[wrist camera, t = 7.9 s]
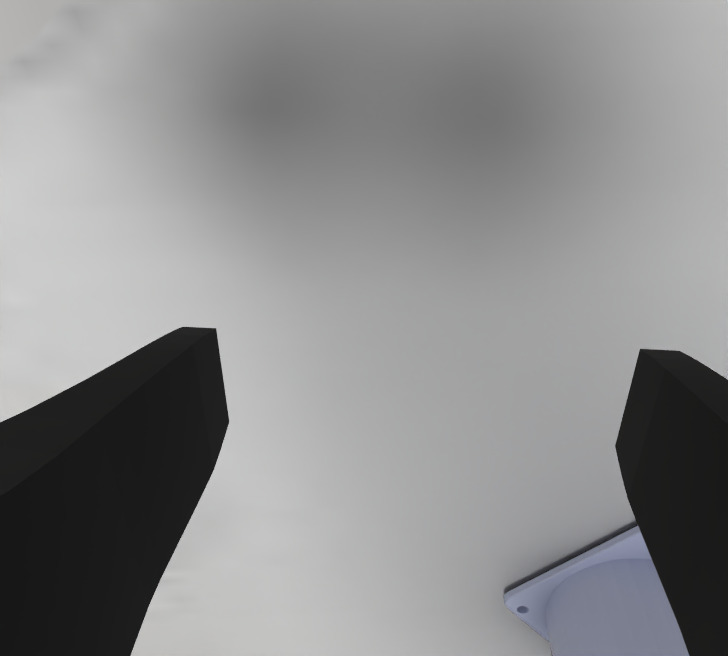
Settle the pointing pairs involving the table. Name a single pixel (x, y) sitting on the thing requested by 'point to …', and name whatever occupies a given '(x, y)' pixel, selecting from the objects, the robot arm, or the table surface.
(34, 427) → the robot arm
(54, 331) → the table surface
